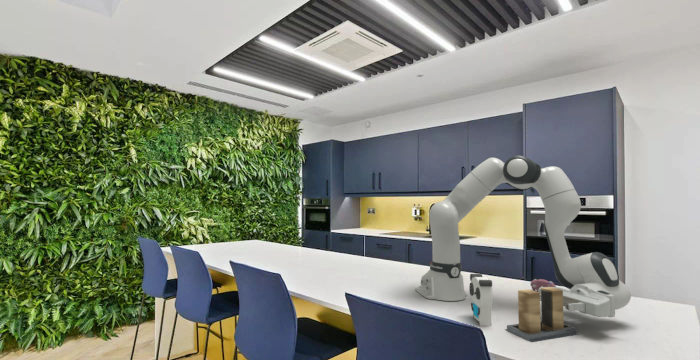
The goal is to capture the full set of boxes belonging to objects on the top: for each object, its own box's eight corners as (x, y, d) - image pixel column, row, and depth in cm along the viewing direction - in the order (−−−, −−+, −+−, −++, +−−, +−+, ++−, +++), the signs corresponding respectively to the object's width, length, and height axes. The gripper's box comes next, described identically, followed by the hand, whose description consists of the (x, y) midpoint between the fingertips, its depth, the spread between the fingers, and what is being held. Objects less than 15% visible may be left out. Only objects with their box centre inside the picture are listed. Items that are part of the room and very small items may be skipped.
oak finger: (540, 328, 105) (540, 288, 106) (551, 326, 107) (550, 286, 108) (552, 333, 102) (551, 291, 102) (563, 331, 103) (562, 290, 104)
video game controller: (530, 294, 154) (528, 281, 152) (533, 287, 158) (531, 274, 156) (556, 298, 148) (554, 284, 146) (558, 291, 151) (556, 278, 149)
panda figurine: (458, 317, 118) (458, 272, 119) (493, 318, 117) (492, 273, 118) (469, 331, 106) (468, 280, 107) (507, 332, 105) (506, 281, 106)
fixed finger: (518, 331, 103) (518, 290, 103) (530, 330, 104) (529, 289, 105) (530, 337, 99) (529, 293, 99) (541, 335, 100) (540, 292, 101)
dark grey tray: (504, 332, 104) (504, 324, 105) (549, 326, 111) (549, 317, 111) (532, 346, 95) (531, 336, 95) (579, 337, 101) (579, 328, 101)
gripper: (556, 281, 119) (524, 283, 115) (619, 296, 100) (585, 300, 96) (556, 299, 119) (525, 303, 114) (620, 319, 100) (585, 324, 95)
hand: (552, 302), depth 105 cm, fingers open, 8 cm apart
